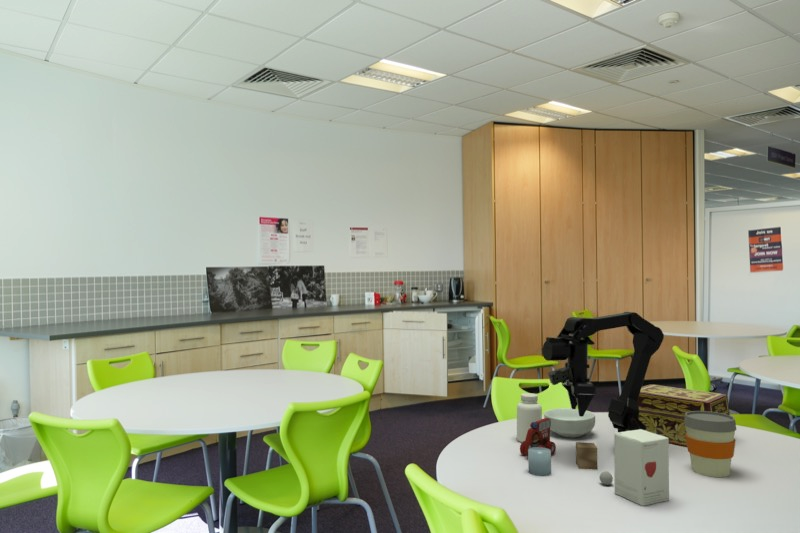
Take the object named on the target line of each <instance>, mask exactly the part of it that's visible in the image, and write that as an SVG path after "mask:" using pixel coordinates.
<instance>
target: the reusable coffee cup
mask: <svg viewBox="0 0 800 533" xmlns="http://www.w3.org/2000/svg"><path fill="white" fill-rule="evenodd" d="M684 425H685V426H686V432H687V433H686V434H685V436H686V442H687V447H686V449H687V452H688V453H689V457H690V463H691V469H692V471H693V472H694V473H696V474H700V475H702V476H706V477H710V478H711V477H712V478H725V477H729V475H730V474H731V465H732V458H734V455H735V448H736V447H735V446H736V438H735V434H736V431H737V424H736V418H735V416H733V415H731V414H730V415H727V414H723V413H718V412H710V411H690V412H686V413H685V419H684Z"/></svg>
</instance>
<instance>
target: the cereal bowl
mask: <svg viewBox="0 0 800 533" xmlns="http://www.w3.org/2000/svg"><path fill="white" fill-rule="evenodd" d="M595 414H596V413H594V412H592V411H589V410H586V412H585V414H584V416H583V417H581V416H579V412H578V408H576V409H572V408H571V407H570V408H569V407H568V408H567V407H566V408H565V407H562V408H560V407H558V408H550V409H547V410H545V411H544V412H543V419H544V418H550V419H551V427H550V431H552V432H554V433H556V434H558V435H559V436H560V437H565V438H580V437H582V436H583V435H585V434H588V433H590V432H591V431H592V430H593V429H594V428H595V426H596V415H595Z"/></svg>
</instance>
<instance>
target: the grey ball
mask: <svg viewBox="0 0 800 533" xmlns="http://www.w3.org/2000/svg"><path fill="white" fill-rule="evenodd" d="M599 481H600V483H602V484H603V485H606V486H607V485H611V484H612V483H613V481H614V477H613V475H612V474H611V473H610V472H609V471H606V470H605V471H601V473H600V474H599Z"/></svg>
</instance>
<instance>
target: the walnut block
mask: <svg viewBox="0 0 800 533" xmlns="http://www.w3.org/2000/svg"><path fill="white" fill-rule="evenodd" d="M575 463H576V466H577V468H578V469H579V470H595V471H598V447H597V445H596V444H595V442H584V441H580V442H579V441H576V442H575Z"/></svg>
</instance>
